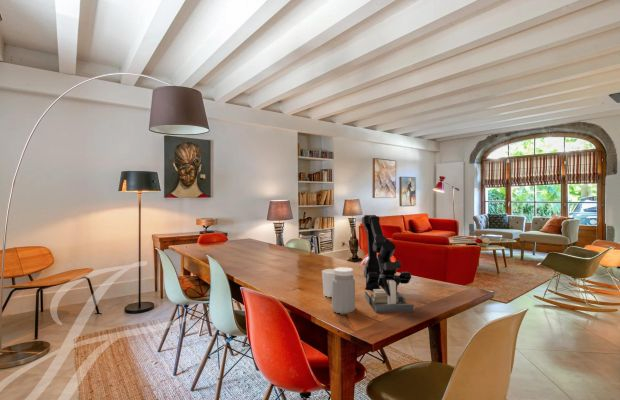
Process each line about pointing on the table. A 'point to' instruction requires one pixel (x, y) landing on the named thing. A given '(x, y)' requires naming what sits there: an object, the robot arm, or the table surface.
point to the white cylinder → (327, 281)
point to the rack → (390, 305)
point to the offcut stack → (380, 296)
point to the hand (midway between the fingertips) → (392, 295)
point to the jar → (343, 290)
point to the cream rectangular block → (392, 292)
